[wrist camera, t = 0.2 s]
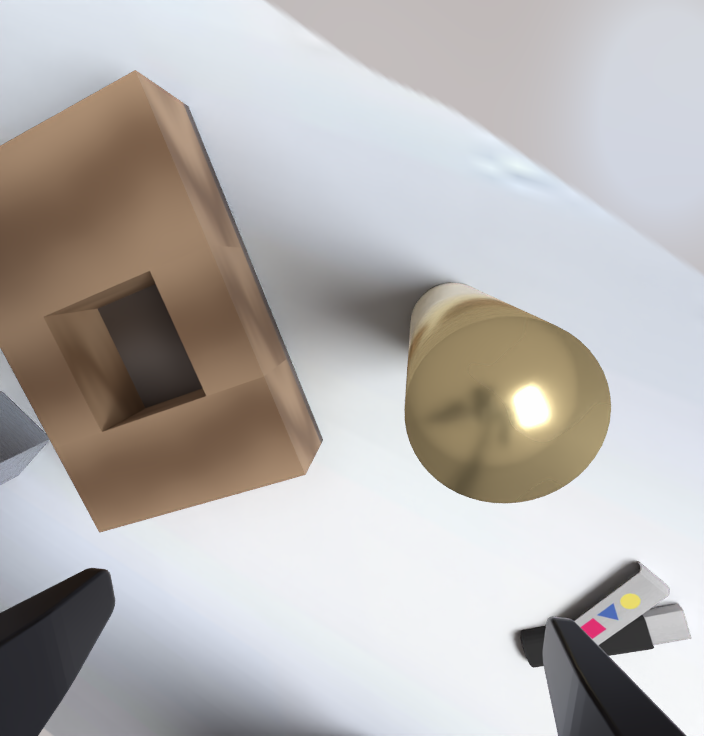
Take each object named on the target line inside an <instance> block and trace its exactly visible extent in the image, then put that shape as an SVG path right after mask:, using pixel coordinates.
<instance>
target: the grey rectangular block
mask: <svg viewBox="0 0 704 736" xmlns="http://www.w3.org/2000/svg"><path fill="white" fill-rule="evenodd" d="M49 440H50V439H49V437H48V436H47V435H46V434H45V433H44V432H43V431H42V430H41V429H40V428H39V427H38V426H37V425H36V424H35V423H34V422H33V421H32V420H31V419H30V418H29V417H28V416H27V415H26V414H25V413H24V412H23V411H22V410H21V409H20V408H19V407H17V406H16V405H15V404H14V403H13V402H12V401H11V400H10V399H9V398H8V397H7V396H6V395H5V394H4V393H3V392H0V485H1V484H3V483H5V482H7V481H9V480H11V479H13V478H14V477H16V476H18V475H19V474H20V473H21V472H22V470H23V469H24V468H25V467H26V466H27V465H28V464H29V463H30V461H31V460H32V459H33V458H34V457H35V456H36V455H37V453H38V452H39V451H40V450H41V449H42V448H43V447H44V446H45V444H46V443H47V442H48V441H49Z"/></svg>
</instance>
